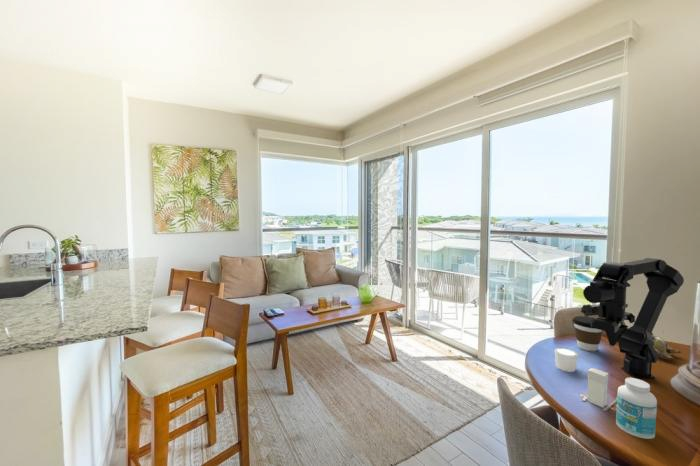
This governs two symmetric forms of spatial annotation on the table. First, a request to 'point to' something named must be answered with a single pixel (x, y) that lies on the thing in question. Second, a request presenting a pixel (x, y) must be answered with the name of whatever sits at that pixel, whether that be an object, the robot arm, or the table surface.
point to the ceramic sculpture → (663, 348)
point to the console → (606, 406)
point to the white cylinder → (566, 359)
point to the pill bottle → (636, 409)
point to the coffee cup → (586, 333)
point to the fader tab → (597, 387)
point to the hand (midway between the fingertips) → (612, 345)
